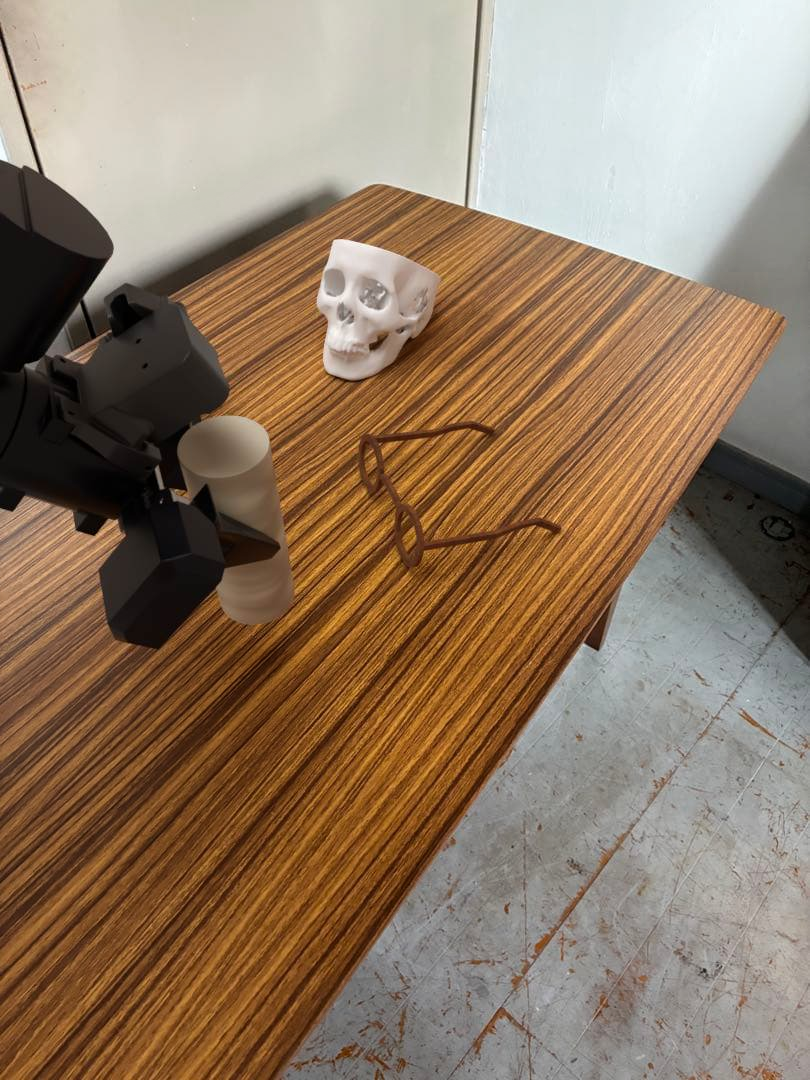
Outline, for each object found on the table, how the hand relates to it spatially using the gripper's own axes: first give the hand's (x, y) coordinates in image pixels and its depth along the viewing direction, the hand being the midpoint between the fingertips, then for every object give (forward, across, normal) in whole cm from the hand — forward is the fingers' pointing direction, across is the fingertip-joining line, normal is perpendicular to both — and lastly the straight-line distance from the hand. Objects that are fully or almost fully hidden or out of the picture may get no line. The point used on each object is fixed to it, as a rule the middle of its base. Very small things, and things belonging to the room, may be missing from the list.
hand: (264, 520), depth 48 cm
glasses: (+22, +9, -2) cm, 24 cm away
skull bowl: (+22, +33, -3) cm, 40 cm away
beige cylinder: (+4, 0, +6) cm, 7 cm away
